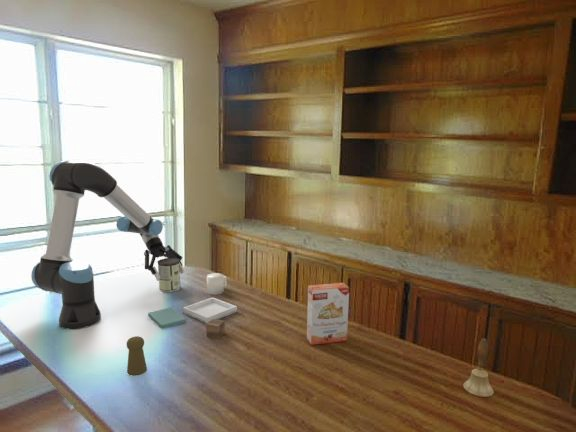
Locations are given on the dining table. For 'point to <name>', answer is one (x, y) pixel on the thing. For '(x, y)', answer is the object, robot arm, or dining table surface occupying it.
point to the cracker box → (327, 313)
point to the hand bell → (479, 375)
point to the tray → (209, 310)
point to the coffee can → (169, 274)
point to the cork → (136, 356)
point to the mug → (216, 283)
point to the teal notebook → (166, 317)
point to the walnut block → (215, 328)
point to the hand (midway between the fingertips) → (171, 276)
